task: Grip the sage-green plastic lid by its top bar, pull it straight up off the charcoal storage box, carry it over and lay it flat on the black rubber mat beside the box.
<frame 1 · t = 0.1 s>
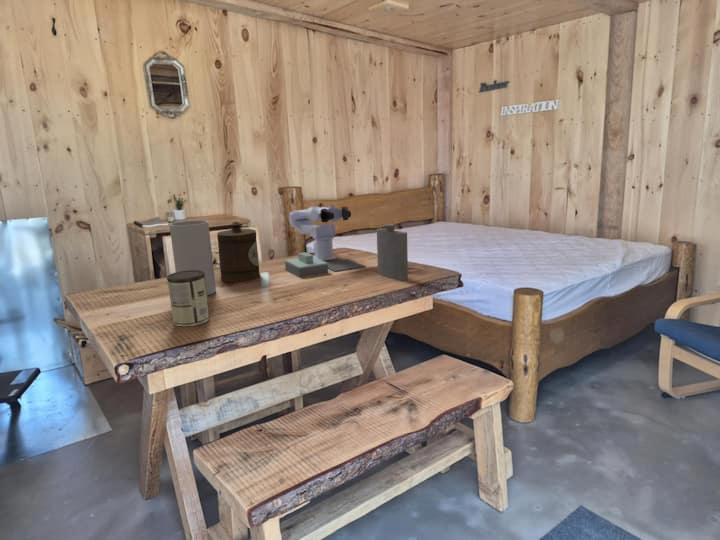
hand: (341, 214, 196), 22 cm above the table, tool horizontal, fingers open, 7 cm apart
lid: (306, 264, 195), point 3 cm above the table, touching storage box
wooden container: (240, 277, 190), on the table
storage box: (306, 271, 196), on the table
mat: (341, 265, 203), on the table
cylinder vase: (197, 294, 170), on the table
coffee can: (191, 321, 142), on the table
hip flask: (391, 277, 182), on the table
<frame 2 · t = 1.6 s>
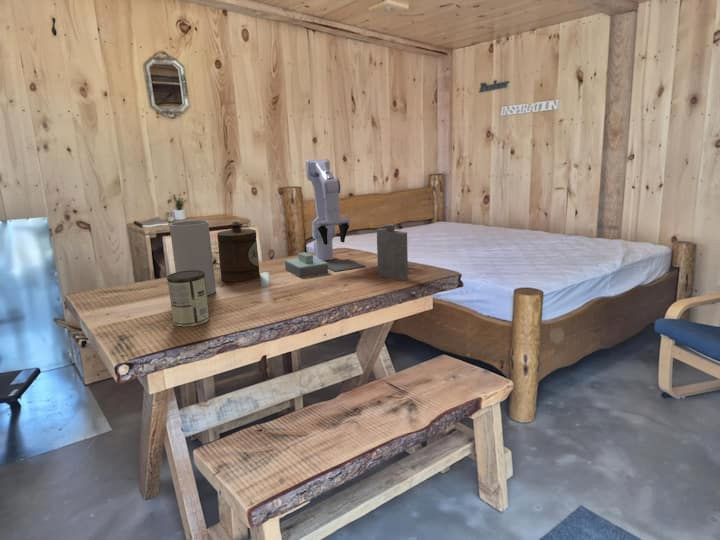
hand: (334, 243, 197), 10 cm above the table, tool pointing down, fingers open, 7 cm apart
nothing on the table moved.
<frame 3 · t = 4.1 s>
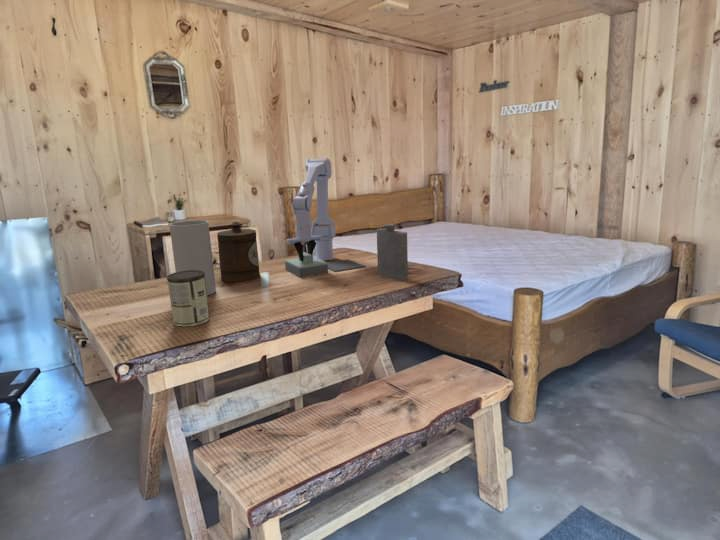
hand: (305, 260, 195), 5 cm above the table, tool pointing down, fingers closed on lid, 3 cm apart
lid: (306, 264, 195), point 3 cm above the table, touching gripper, storage box
everything else where it was.
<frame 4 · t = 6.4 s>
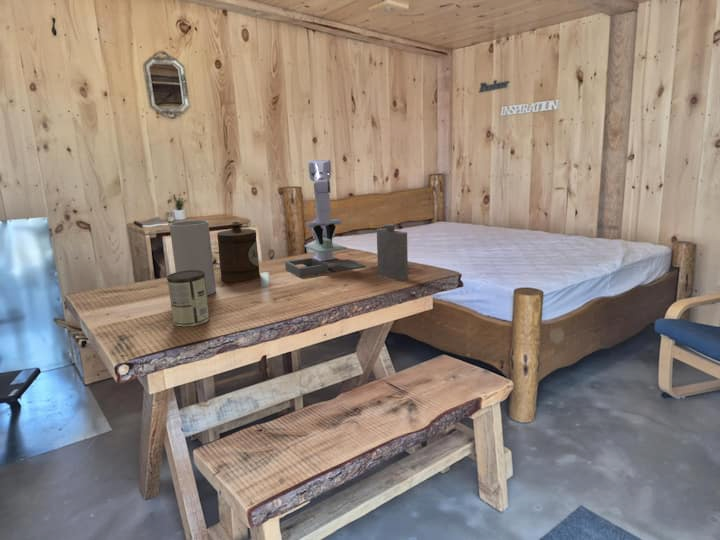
hand: (325, 243, 197), 10 cm above the table, tool pointing down, fingers closed on lid, 3 cm apart
lid: (325, 249, 198), point 8 cm above the table, touching gripper
everything else where it was.
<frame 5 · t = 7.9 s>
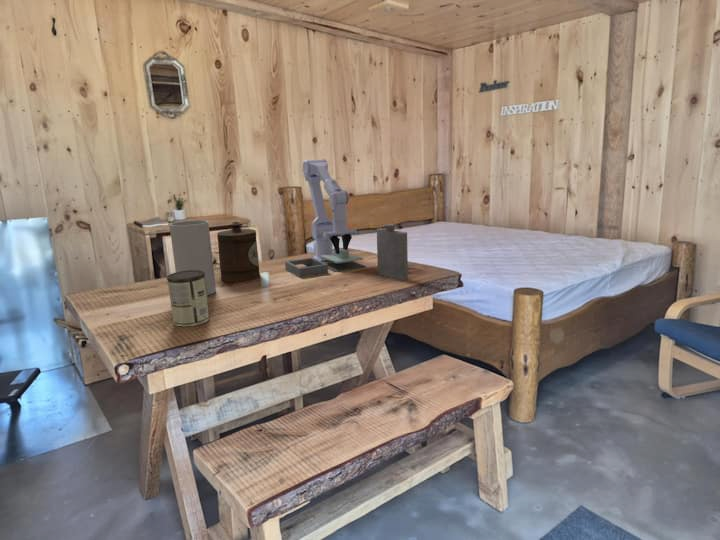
hand: (341, 253, 202), 5 cm above the table, tool pointing down, fingers closed on lid, 3 cm apart
lid: (341, 259, 203), point 3 cm above the table, touching gripper
everything else where it was.
when the fingers open (4 cm above the table, at t = 9.0 s): lid stays where it is, resting on mat.
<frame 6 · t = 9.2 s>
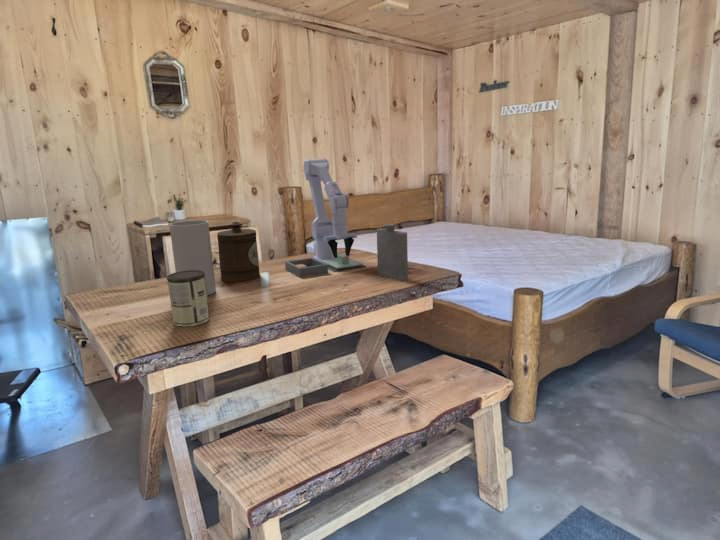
hand: (341, 256, 202), 4 cm above the table, tool pointing down, fingers open, 5 cm apart
lid: (341, 264, 203), resting on mat
everything else where it was.
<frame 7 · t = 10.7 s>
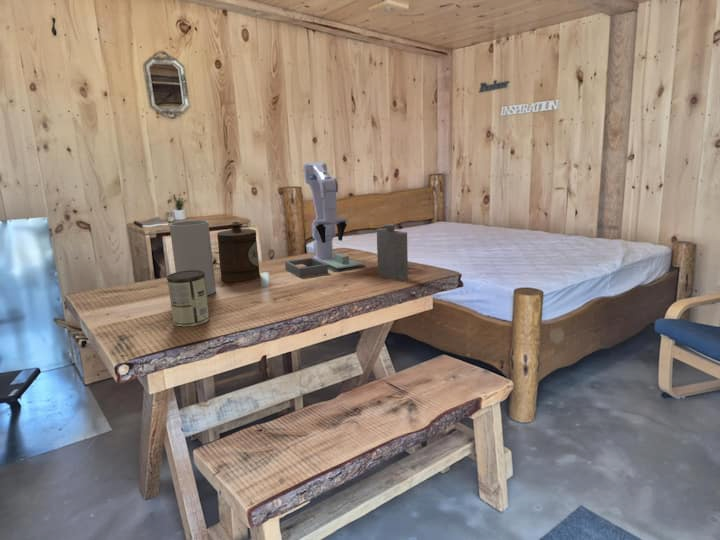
hand: (332, 241, 201), 10 cm above the table, tool pointing down, fingers open, 7 cm apart
nothing on the table moved.
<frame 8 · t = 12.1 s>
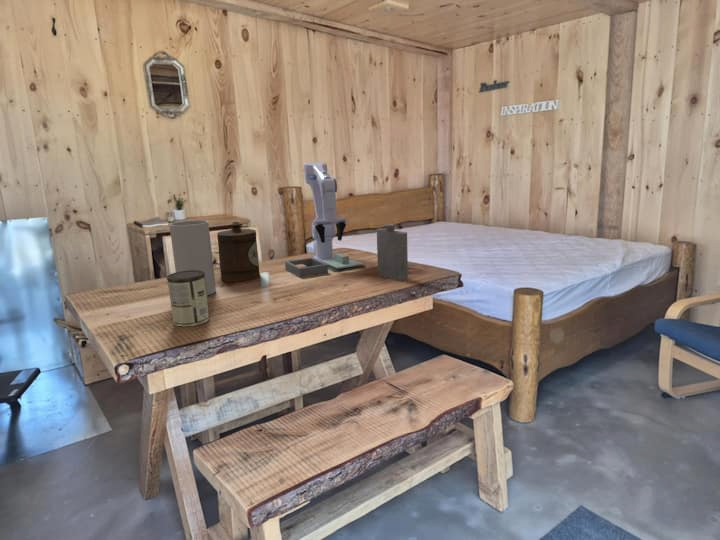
hand: (331, 241, 201), 10 cm above the table, tool pointing down, fingers open, 7 cm apart
nothing on the table moved.
at the end: lid 0.3 cm off-centre on the mat, point 0.4 cm above the mat's base; lid tilted 0°; lid touching mat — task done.
